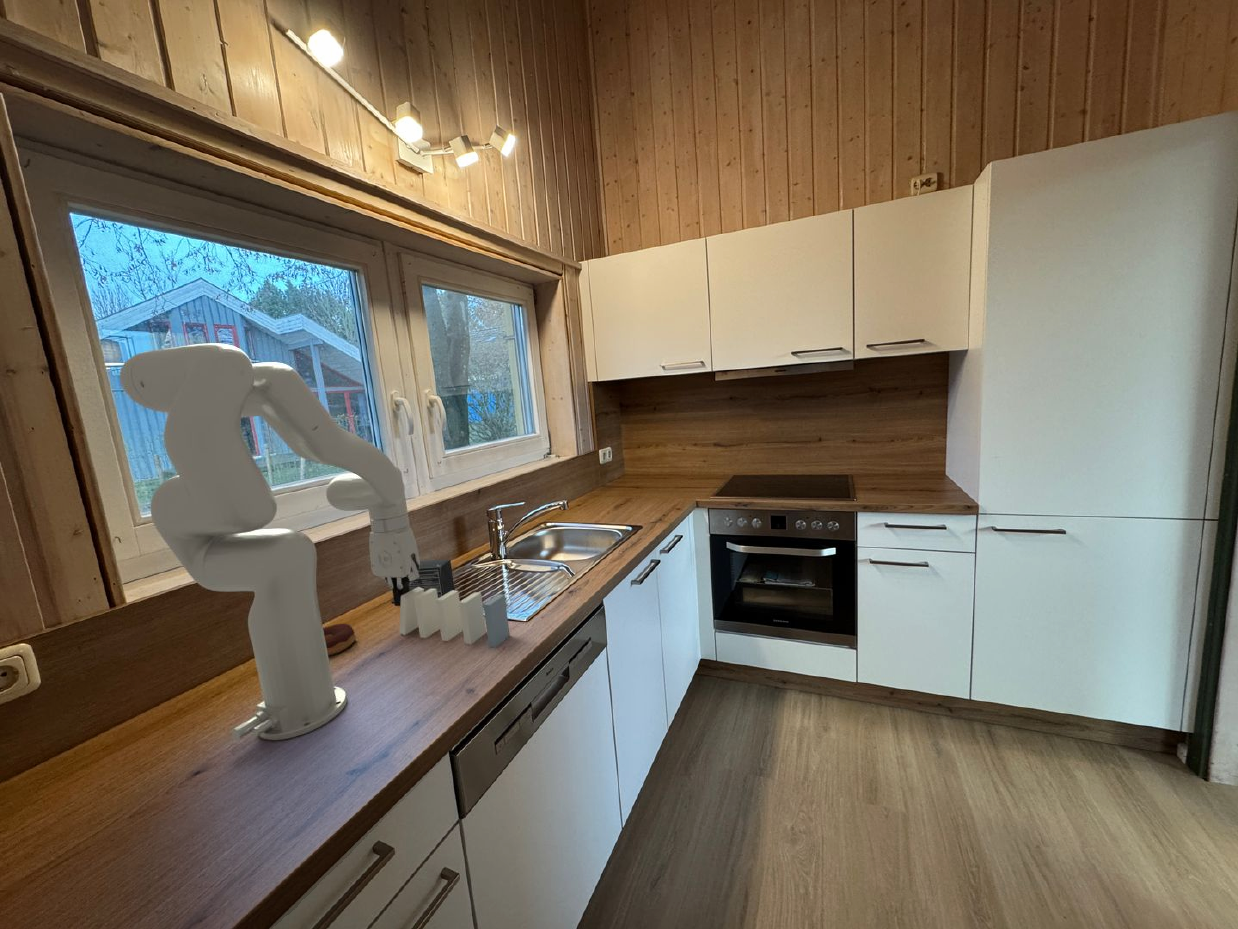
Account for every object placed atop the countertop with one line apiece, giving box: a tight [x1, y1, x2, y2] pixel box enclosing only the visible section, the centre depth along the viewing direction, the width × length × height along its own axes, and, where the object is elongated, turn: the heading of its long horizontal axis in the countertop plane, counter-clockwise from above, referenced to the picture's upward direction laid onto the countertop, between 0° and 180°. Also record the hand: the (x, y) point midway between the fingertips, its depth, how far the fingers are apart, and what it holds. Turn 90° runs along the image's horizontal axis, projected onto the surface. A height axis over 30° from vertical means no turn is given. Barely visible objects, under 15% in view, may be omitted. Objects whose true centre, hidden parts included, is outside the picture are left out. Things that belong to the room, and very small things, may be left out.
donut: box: [323, 623, 356, 657], centre depth 105 cm, size 10×10×4 cm
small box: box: [409, 558, 456, 598], centre depth 124 cm, size 11×6×10 cm, turn 84°
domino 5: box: [482, 593, 511, 649], centre depth 101 cm, size 2×5×9 cm, turn 159°
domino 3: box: [436, 589, 463, 642], centre depth 105 cm, size 2×5×9 cm, turn 158°
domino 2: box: [414, 588, 440, 639], centre depth 108 cm, size 2×5×9 cm, turn 158°
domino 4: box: [459, 591, 487, 645], centre depth 103 cm, size 2×5×9 cm, turn 158°
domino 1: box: [398, 587, 424, 636], centre depth 109 cm, size 2×5×9 cm, turn 158°
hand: (403, 603), depth 110 cm, fingers closed
